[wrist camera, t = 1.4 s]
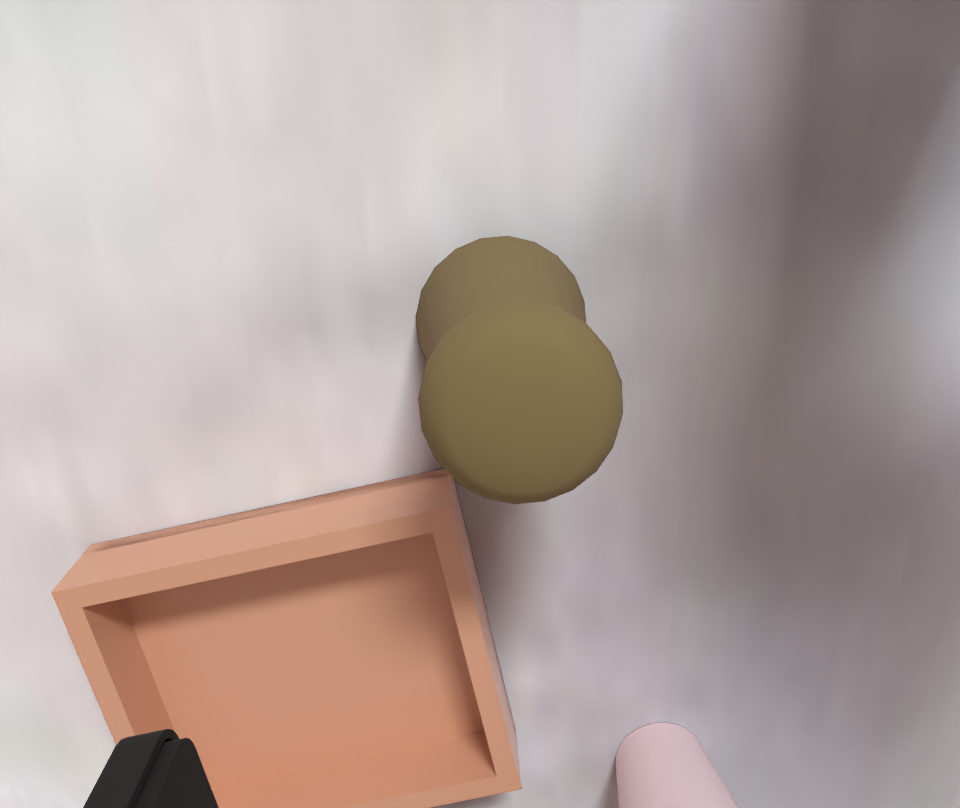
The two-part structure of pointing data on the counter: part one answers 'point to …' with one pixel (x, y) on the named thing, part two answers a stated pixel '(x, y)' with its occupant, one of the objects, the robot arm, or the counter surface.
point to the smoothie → (667, 771)
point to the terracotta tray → (306, 649)
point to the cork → (514, 373)
